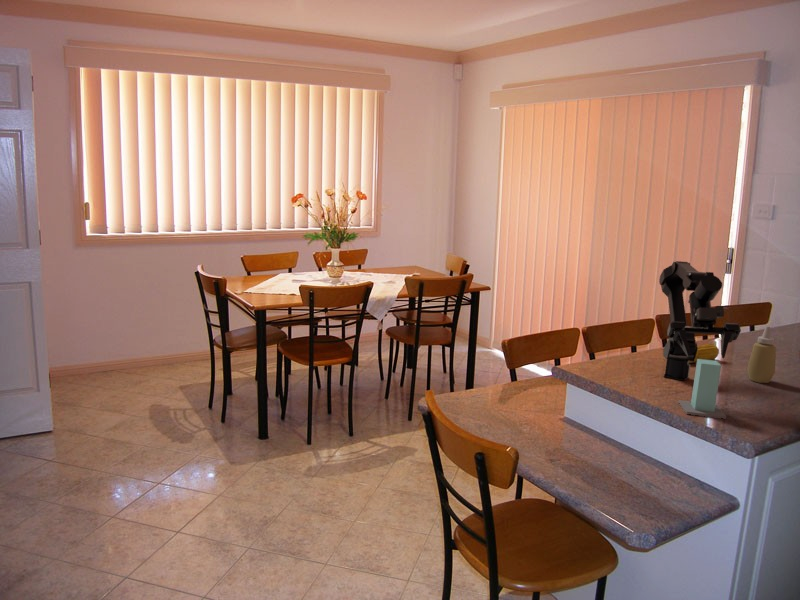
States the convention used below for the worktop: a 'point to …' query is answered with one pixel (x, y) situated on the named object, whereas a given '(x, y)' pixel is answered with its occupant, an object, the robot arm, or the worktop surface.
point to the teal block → (705, 385)
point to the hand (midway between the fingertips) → (705, 357)
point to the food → (706, 352)
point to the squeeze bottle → (762, 359)
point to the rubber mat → (690, 410)
